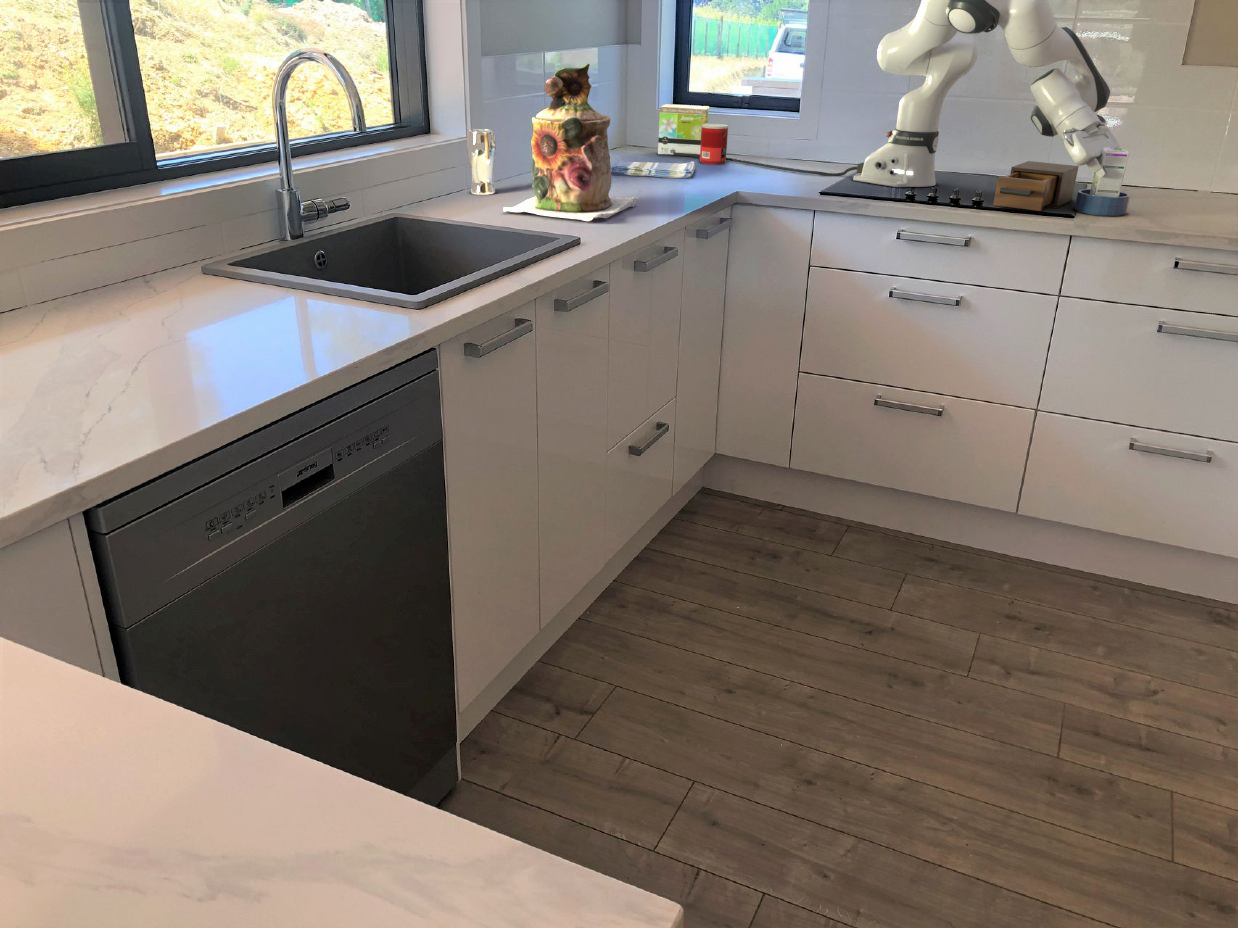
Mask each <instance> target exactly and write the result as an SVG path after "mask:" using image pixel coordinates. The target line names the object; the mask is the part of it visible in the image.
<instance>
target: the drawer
mask: <svg viewBox="0 0 1238 928" xmlns="http://www.w3.org/2000/svg"><path fill="white" fill-rule="evenodd" d="M1057 181H1058V176H1054V175H1045V174H1035V173H1026V172H1015V173H1013V174H1010V173H1009V174H1008V175H1005V176H1003V175H999V176H997V181H996V186H995V192H994V197H993V199H994V200H993V203H992V205H993V206H997V207H1005V208H1014V209H1020V210H1022V209H1023V210H1029V211H1037V212H1042V211H1043V208H1044V206H1046V205H1048V204H1050V203H1052V202H1053V201H1054V196H1055V191H1056V186H1057Z"/></svg>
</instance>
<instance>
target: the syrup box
mask: <svg viewBox="0 0 1238 928" xmlns="http://www.w3.org/2000/svg"><path fill="white" fill-rule="evenodd" d="M1129 156H1130V151H1128V150H1126V149H1124V148H1122V147H1120V148H1113V147H1105V148H1103V149H1102V156H1099V157H1098V159H1097V160H1098V163H1099V164H1100V165H1101V166H1102V167H1104V168H1105V170H1106V171H1107V174H1106V175H1105V176H1104V177H1101V178H1099V177H1098V176H1097V175H1096V173H1095V172H1093V177H1092V181H1091V186H1090V189H1091V190H1090V194H1089V195H1095V196H1104V197H1119V195H1120V192H1122V185H1123V182H1124V177H1125V172H1126V169H1127V163H1128V160H1129Z"/></svg>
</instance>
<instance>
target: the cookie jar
mask: <svg viewBox="0 0 1238 928" xmlns="http://www.w3.org/2000/svg"><path fill="white" fill-rule="evenodd" d="M590 65H591V64H590V63H585V64H583V66H581V67H562V68H560V69H558V70H556V71H555V72H554V74H553V76H552V77H551V78H549V79H547V80H546V81H545V84H544V85H545V86H544V89H543V90H544V92H545V93H546V95H547V97H550V98H551V99H552V100H551V101H550V103H549V104H550V105H549V106H548V107H547V108H545V109H543V110H541V111H539V113H537V114H536V116H533V117H532V118H531V124H532V136H531V141H530V144H531V152H532V161H531V171H530V173H531V176H532V178H533V181H532V184H531V187H532V192H533V195H534V196H533V197H530V198H527V199H526V200H523V201H522V202H521V203H518V204H517V205H514V206H512V207H509V206H504V207H503V212H504V213H530V214H535V215H538V216H544V217H553V218H561V219H562V218H563V219H570V220H580V221H584V222H591V221H592V220H594V219H598V218H602V219H608V218H610V217H612V216H615V214H618V213H619V212H622V211H624V210H625V209H628V208H630V207H635V203H636V202H637V200H638V197H637V196H627V197H625V196H623V197H622V196H621V197H619V196H617V197H615V196H614V197H613V196H612V197H610V195H609V193H610V190H611V188H612V179H613V178H612V174H611V167H612V166H611V155H610V151H609V150H610V149H609V136H608V128H609V127H610V125H611V117H610V116H608V115H605V114H601V113H600V112H599V111H597V110H595V109H594V108H592V106H591V105H590V104H589V102H588V100H589V96H590V93H591V88H592V84H591V83H590V75H589V69H590Z"/></svg>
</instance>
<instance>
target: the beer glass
mask: <svg viewBox="0 0 1238 928" xmlns="http://www.w3.org/2000/svg"><path fill="white" fill-rule="evenodd" d="M495 132H496V131H495V130H494V129H490V128H489V129H487V128H473V129H472V128H471V129H468V130H467V157H468V162H469V167H470V171H471V189H470V190H471V191H470V192H471V194H472V195H478V196H487V195H488V196H489V195H494V194H496V187H495V182H494V181H495V180H494V172H495V165H496V157H497V156H496V155H497V141H496V133H495Z"/></svg>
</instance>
